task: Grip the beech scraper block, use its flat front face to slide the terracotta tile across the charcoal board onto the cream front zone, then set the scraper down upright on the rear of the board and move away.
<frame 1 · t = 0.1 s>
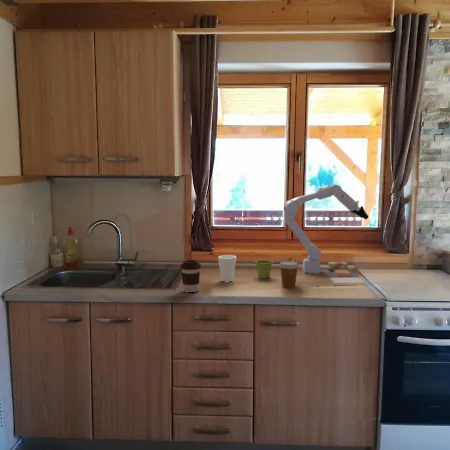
hand: (365, 217, 257), 32 cm above the countertop, tool tilted 50°, fingers open, 7 cm apart
tile: (341, 274, 254), point 1 cm above the countertop, touching board
coffee cup: (191, 291, 230), on the countertop
plant pot: (263, 277, 256), on the countertop
scraper block: (337, 270, 263), point 1 cm above the countertop, touching board
disposable coffee cup: (288, 286, 238), on the countertop
foam cup: (227, 281, 249), on the countertop
board: (342, 278, 252), on the countertop
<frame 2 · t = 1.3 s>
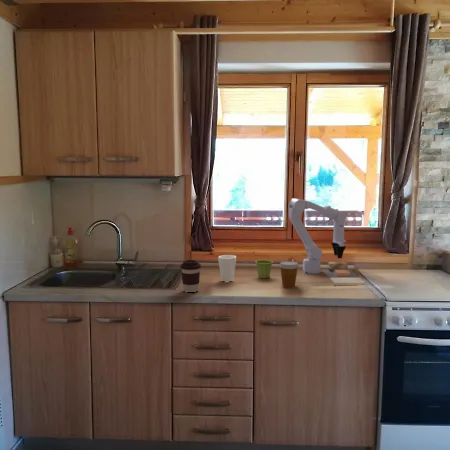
hand: (338, 256, 262), 9 cm above the countertop, tool pointing down, fingers open, 7 cm apart
nothing on the countertop moved.
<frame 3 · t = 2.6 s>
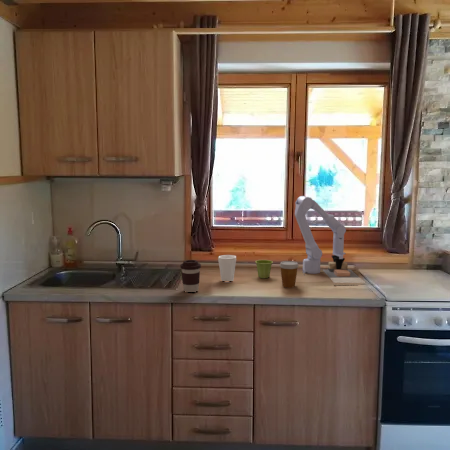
hand: (337, 269, 263), 2 cm above the countertop, tool pointing down, fingers closed on scraper block, 4 cm apart
scraper block: (337, 270, 263), point 1 cm above the countertop, touching board, gripper
everything else where it was.
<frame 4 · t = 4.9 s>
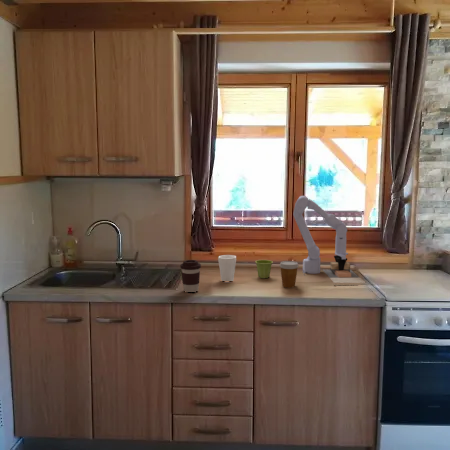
hand: (340, 269, 258), 3 cm above the countertop, tool pointing down, fingers closed on scraper block, 4 cm apart
tile: (342, 275, 252), point 1 cm above the countertop, touching board, gripper
scraper block: (340, 271, 258), point 2 cm above the countertop, touching gripper
everything else where it was.
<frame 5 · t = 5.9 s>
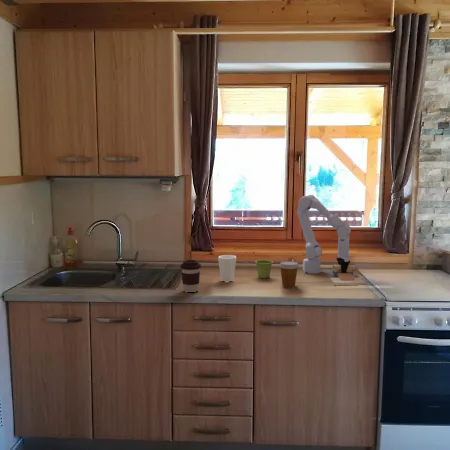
hand: (342, 272, 252), 3 cm above the countertop, tool pointing down, fingers closed on scraper block, 4 cm apart
tile: (345, 278, 246), point 1 cm above the countertop, touching board, gripper
scraper block: (342, 273, 252), point 3 cm above the countertop, touching gripper
everything else where it was.
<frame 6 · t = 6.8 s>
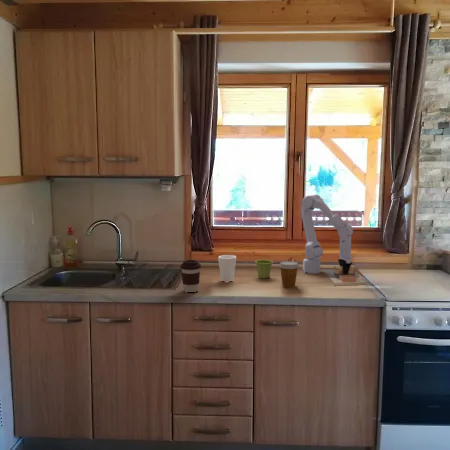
hand: (344, 273, 249), 3 cm above the countertop, tool pointing down, fingers closed on scraper block, 4 cm apart
tile: (347, 280, 243), point 2 cm above the countertop, touching gripper
scraper block: (344, 275, 249), point 2 cm above the countertop, touching gripper
everything else where it was.
when the fingers open (3 cm above the countertop, at t = 10.1 s): scraper block stays where it is, resting on board.
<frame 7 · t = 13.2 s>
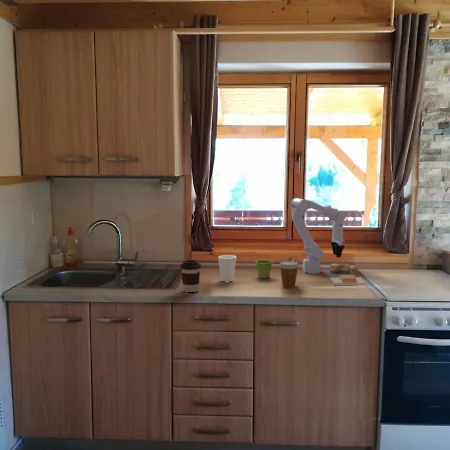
hand: (336, 255, 265), 9 cm above the countertop, tool pointing down, fingers open, 7 cm apart
tile: (347, 280, 242), point 1 cm above the countertop, touching board
scraper block: (339, 272, 259), point 1 cm above the countertop, touching board
everything else where it was.
at the end: tile 0.4 cm from the target spot on the board, point 1.5 cm above the board's base; scraper block inside the target area (0.0 cm from its centre), point 1.5 cm above the countertop; scraper block tilted 0° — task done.
